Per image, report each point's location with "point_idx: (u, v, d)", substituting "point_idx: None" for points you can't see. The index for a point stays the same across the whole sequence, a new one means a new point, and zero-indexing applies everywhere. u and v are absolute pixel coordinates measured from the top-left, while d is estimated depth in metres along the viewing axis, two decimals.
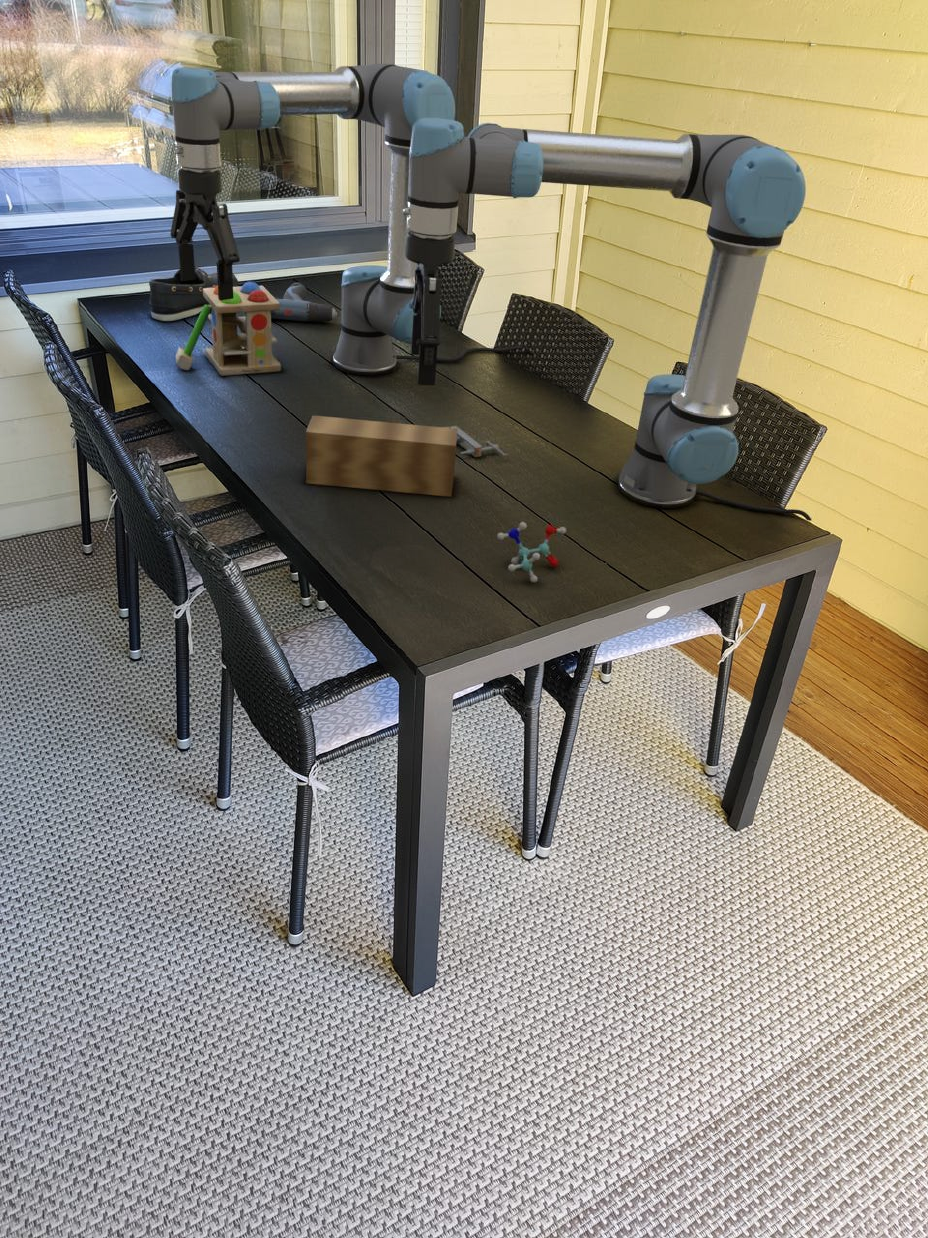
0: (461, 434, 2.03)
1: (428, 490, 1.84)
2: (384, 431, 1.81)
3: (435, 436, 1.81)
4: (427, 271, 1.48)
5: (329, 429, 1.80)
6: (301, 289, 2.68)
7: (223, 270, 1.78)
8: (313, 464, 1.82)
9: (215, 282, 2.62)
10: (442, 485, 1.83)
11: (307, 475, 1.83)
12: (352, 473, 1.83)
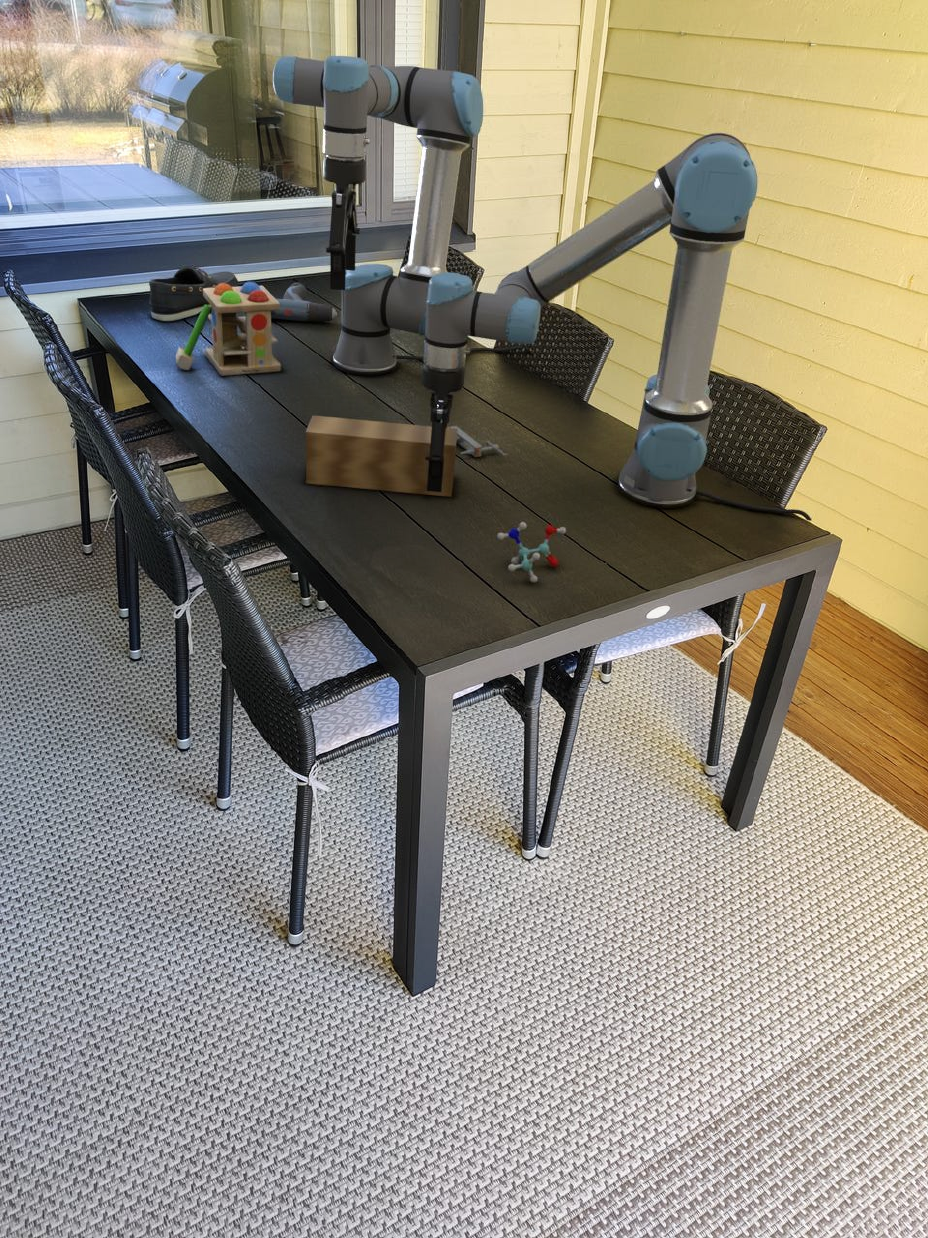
0: (461, 434, 2.03)
1: None
2: (384, 431, 1.81)
3: None
4: None
5: (329, 429, 1.80)
6: (301, 289, 2.68)
7: None
8: (313, 464, 1.82)
9: (215, 282, 2.62)
10: (442, 485, 1.83)
11: (307, 475, 1.83)
12: (352, 473, 1.83)
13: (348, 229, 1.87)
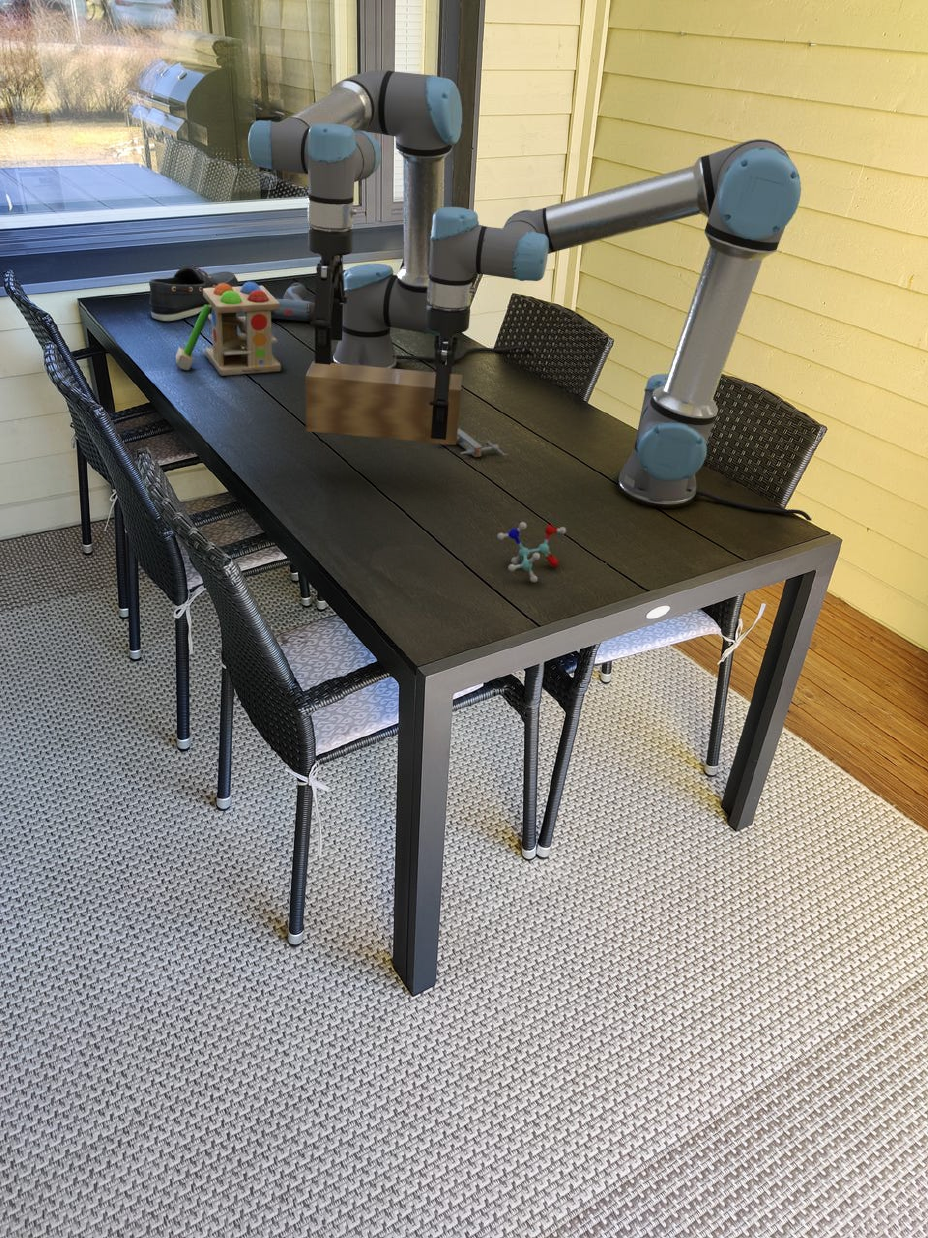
0: (461, 434, 2.03)
1: None
2: (386, 376, 1.75)
3: None
4: None
5: (330, 374, 1.74)
6: (301, 289, 2.68)
7: None
8: (313, 411, 1.76)
9: (215, 282, 2.62)
10: (446, 432, 1.77)
11: (307, 422, 1.77)
12: (354, 420, 1.77)
13: (335, 298, 1.79)
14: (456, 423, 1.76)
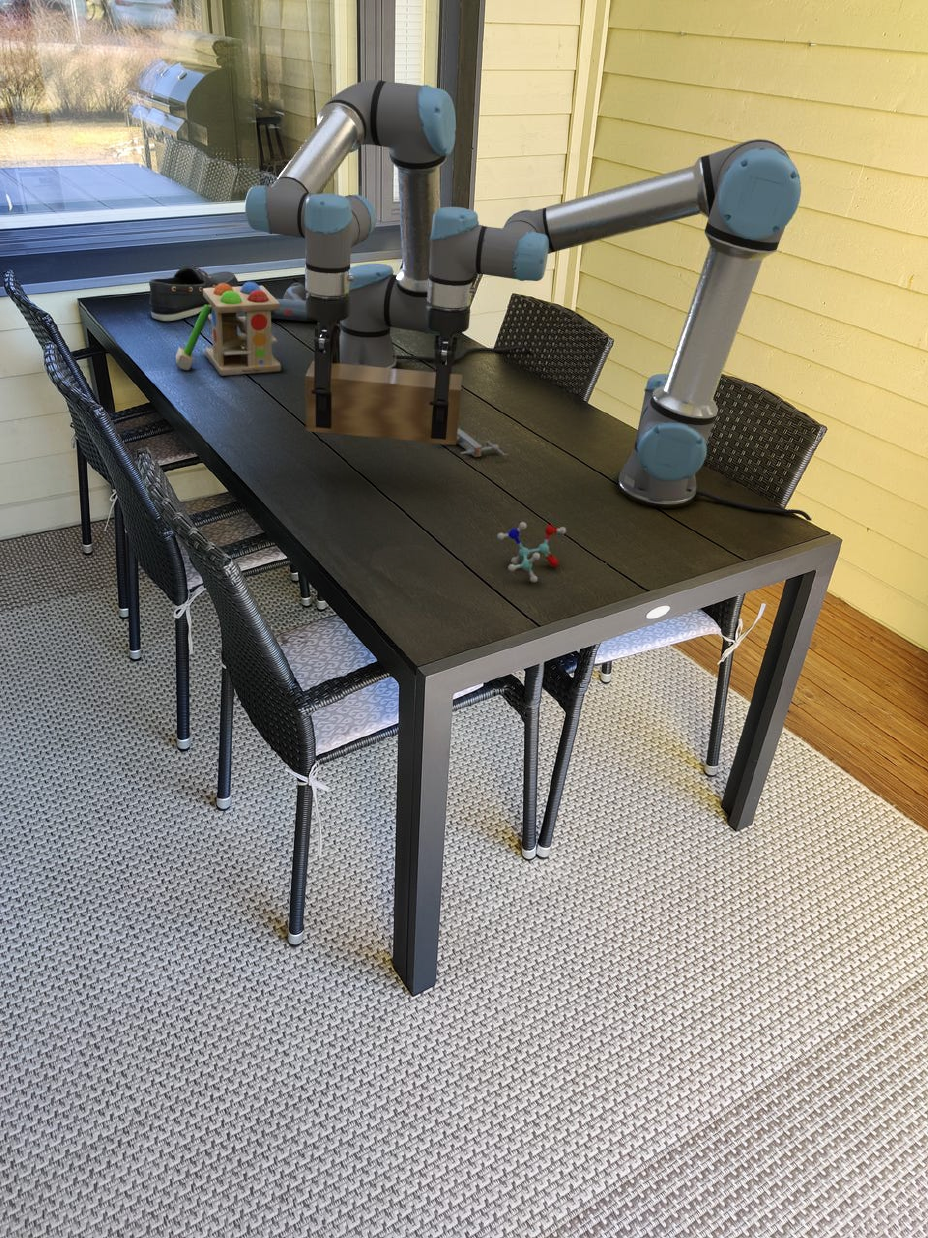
0: (461, 434, 2.03)
1: None
2: (386, 376, 1.75)
3: None
4: None
5: None
6: (301, 289, 2.68)
7: None
8: (313, 411, 1.76)
9: (215, 282, 2.62)
10: (446, 432, 1.77)
11: (307, 422, 1.77)
12: (354, 420, 1.77)
13: None
14: (456, 423, 1.76)
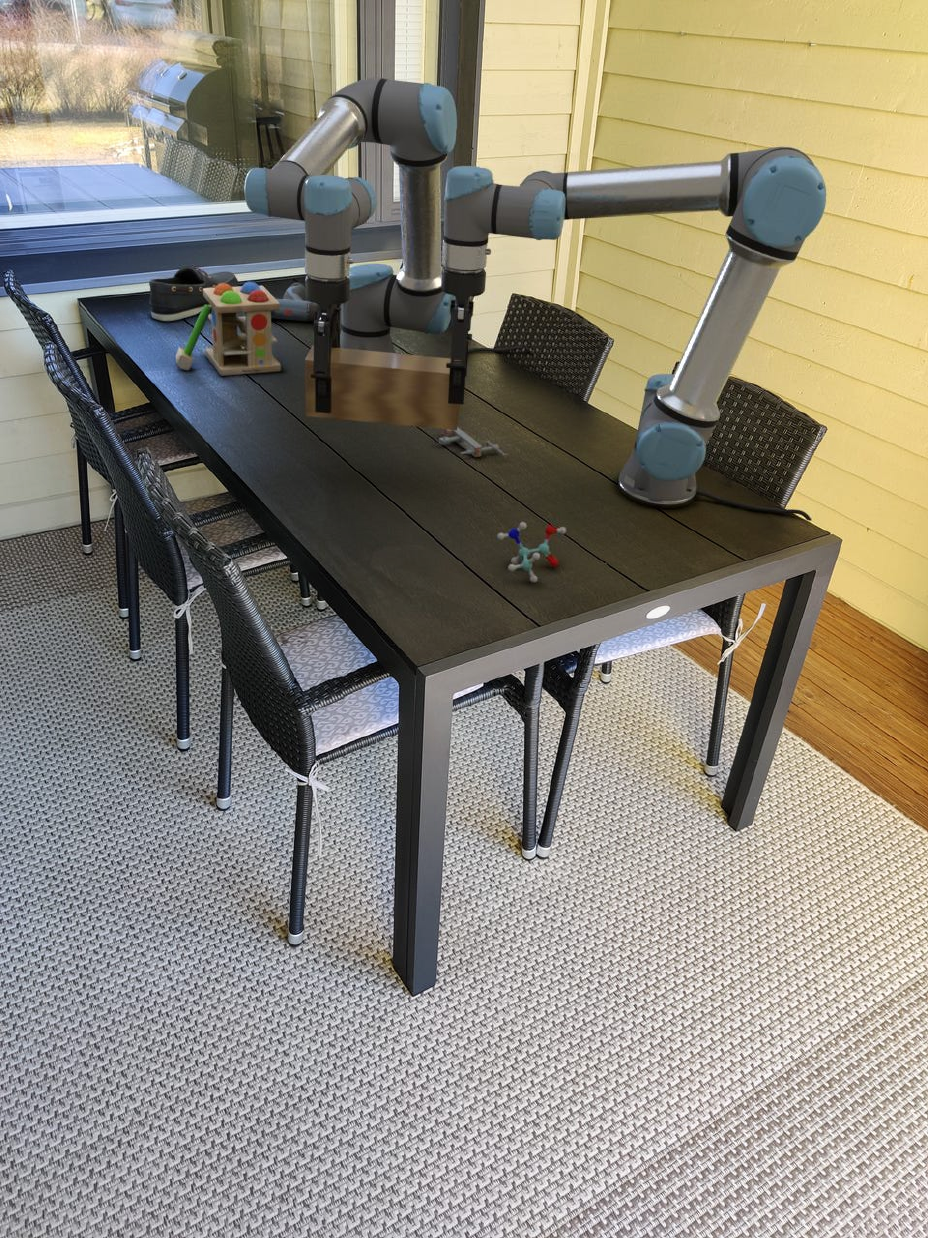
0: (461, 434, 2.03)
1: (433, 423, 1.76)
2: (386, 361, 1.74)
3: (440, 366, 1.74)
4: None
5: None
6: (301, 289, 2.68)
7: None
8: (313, 395, 1.75)
9: (215, 282, 2.62)
10: (447, 417, 1.76)
11: (307, 407, 1.76)
12: (353, 405, 1.75)
13: None
14: (457, 408, 1.75)
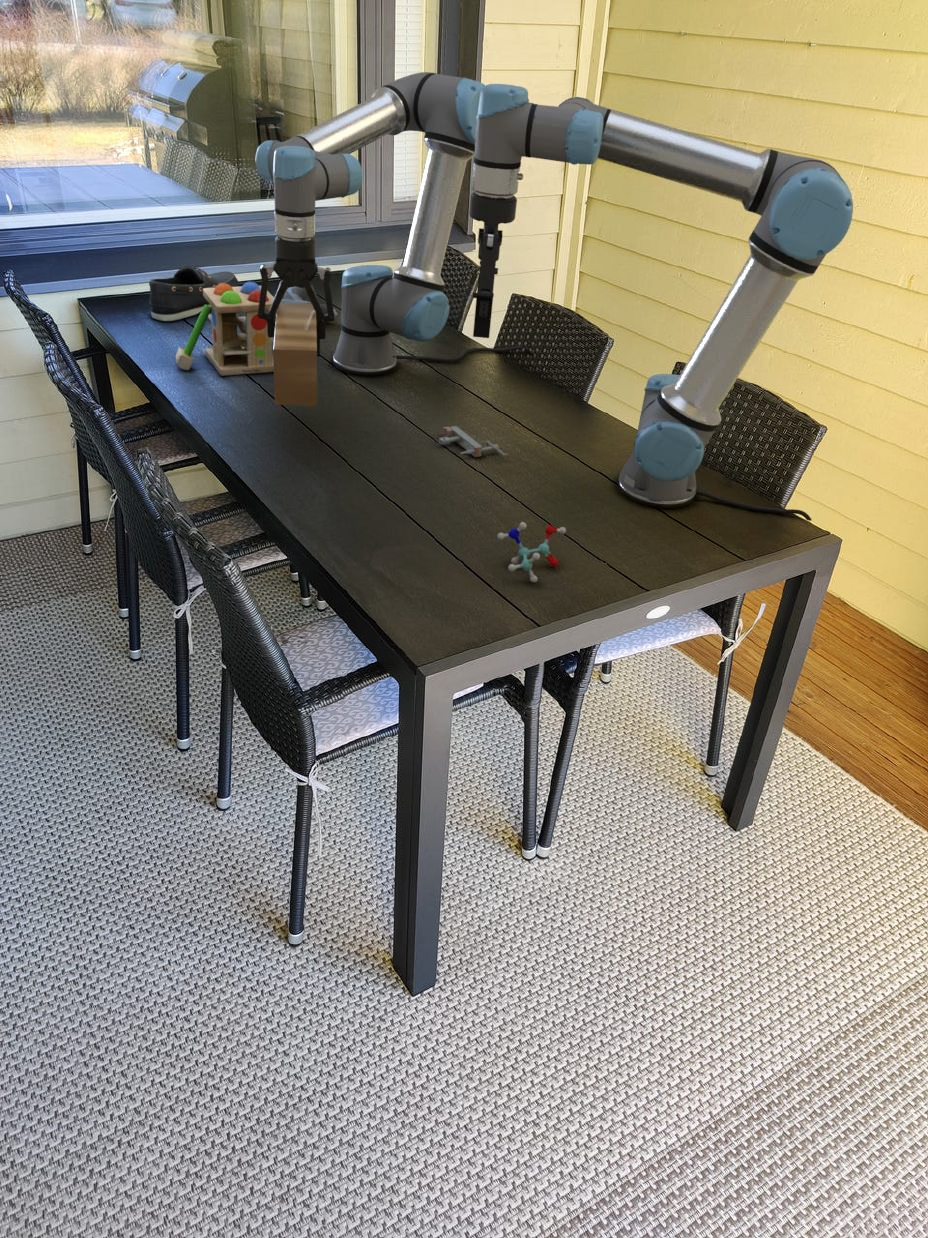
0: (461, 434, 2.03)
1: None
2: (292, 325, 1.85)
3: (291, 342, 1.78)
4: None
5: (286, 308, 1.93)
6: (301, 289, 2.68)
7: (321, 329, 1.97)
8: None
9: (215, 282, 2.62)
10: None
11: None
12: None
13: None
14: (274, 382, 1.78)
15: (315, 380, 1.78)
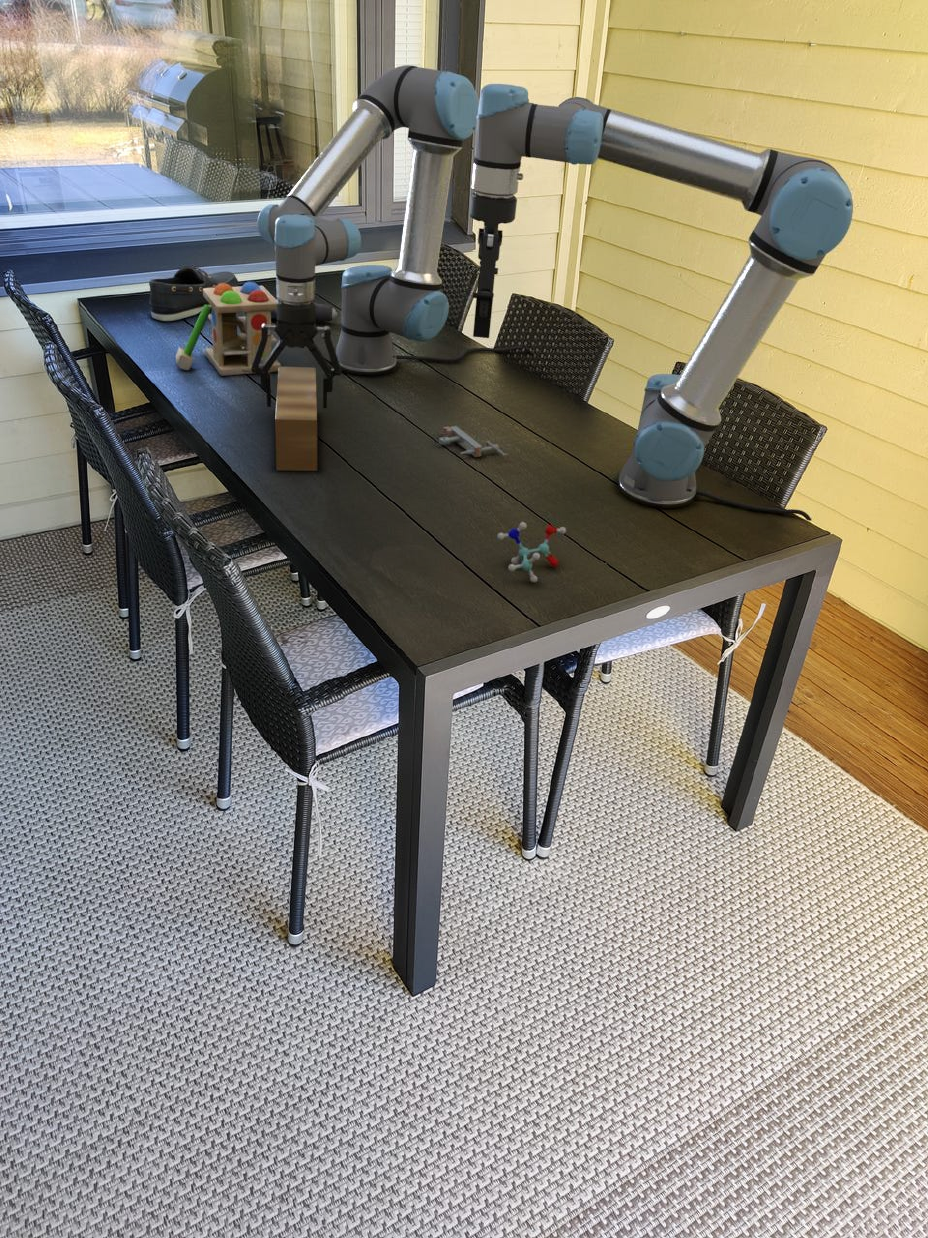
0: (461, 434, 2.03)
1: None
2: (293, 392, 1.93)
3: (292, 411, 1.85)
4: None
5: (287, 373, 2.01)
6: None
7: (328, 382, 2.03)
8: None
9: (215, 282, 2.62)
10: None
11: None
12: None
13: None
14: (276, 449, 1.85)
15: (315, 447, 1.86)
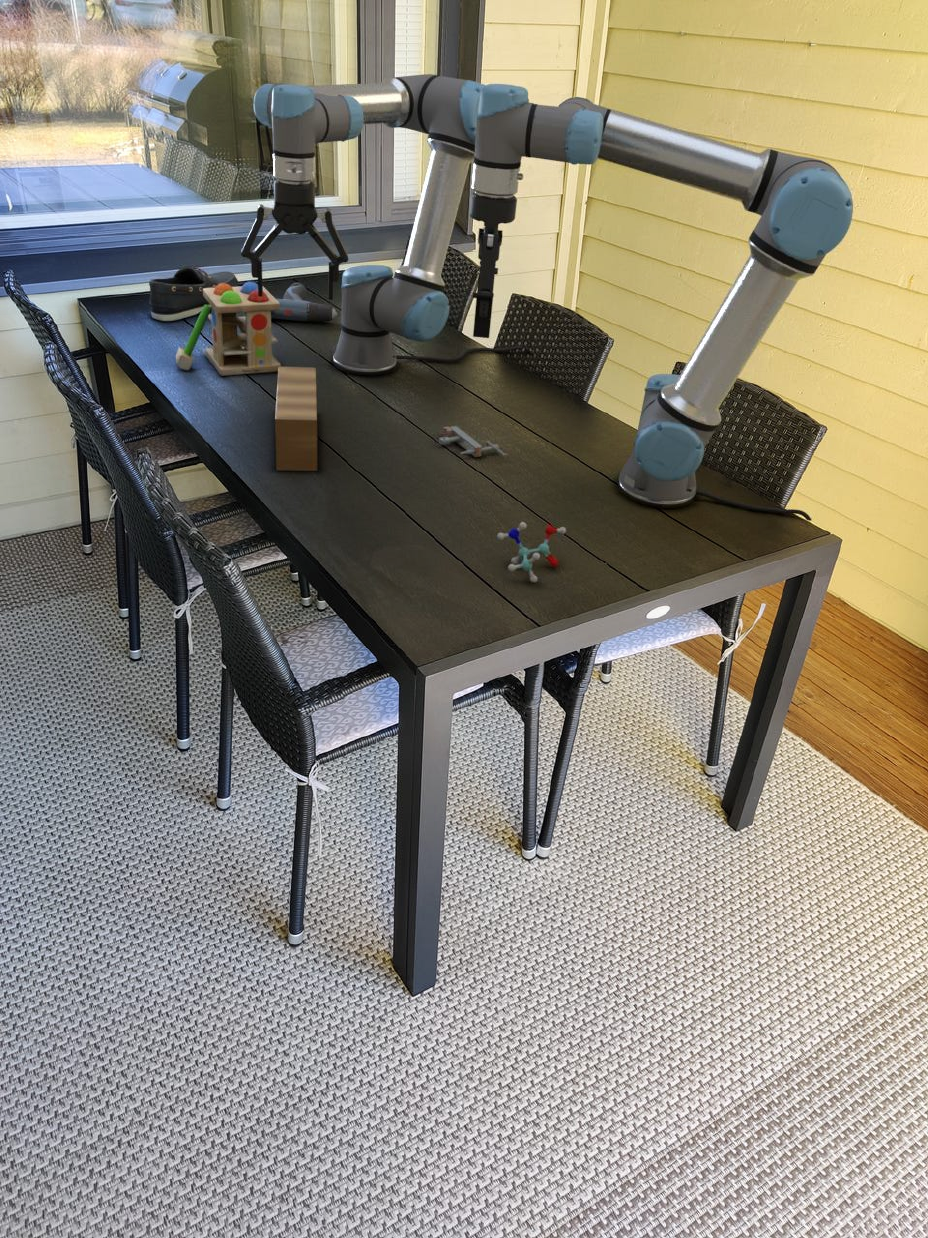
0: (461, 434, 2.03)
1: None
2: (293, 392, 1.93)
3: (292, 411, 1.85)
4: None
5: (287, 373, 2.01)
6: (301, 289, 2.68)
7: (334, 270, 1.91)
8: None
9: (215, 282, 2.62)
10: None
11: None
12: None
13: None
14: (276, 449, 1.85)
15: (315, 447, 1.86)
